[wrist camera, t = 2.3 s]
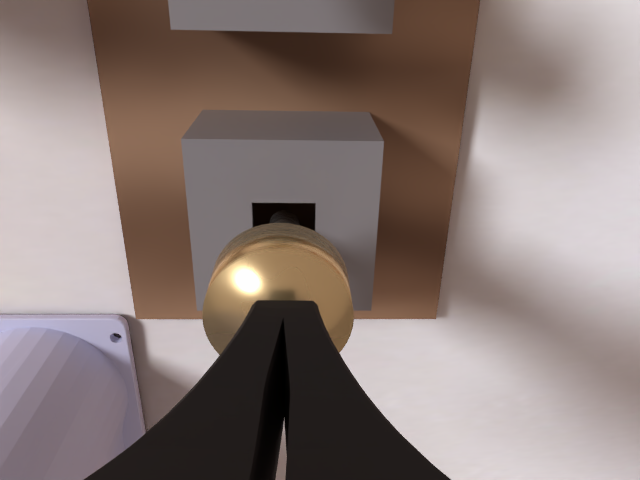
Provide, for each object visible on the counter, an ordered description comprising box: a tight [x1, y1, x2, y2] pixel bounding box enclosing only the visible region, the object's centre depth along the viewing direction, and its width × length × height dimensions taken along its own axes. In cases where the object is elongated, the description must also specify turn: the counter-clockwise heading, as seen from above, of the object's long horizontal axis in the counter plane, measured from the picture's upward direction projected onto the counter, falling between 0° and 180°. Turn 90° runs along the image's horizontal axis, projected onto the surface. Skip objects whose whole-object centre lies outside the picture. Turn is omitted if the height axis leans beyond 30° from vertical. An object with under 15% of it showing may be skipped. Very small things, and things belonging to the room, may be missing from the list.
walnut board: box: [87, 0, 480, 319], centre depth 19 cm, size 21×13×1 cm, turn 179°
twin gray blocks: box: [168, 0, 395, 311], centre depth 17 cm, size 15×6×4 cm, turn 179°
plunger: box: [202, 210, 354, 355], centre depth 15 cm, size 4×4×6 cm
